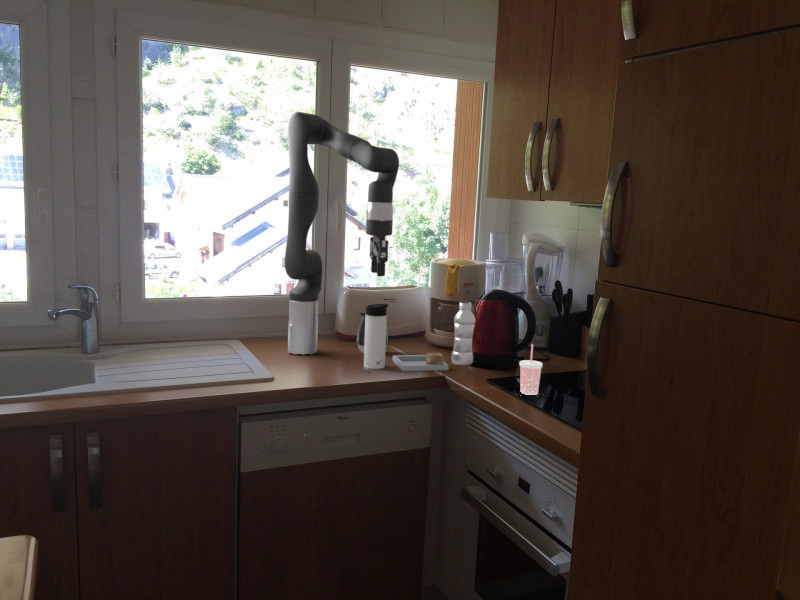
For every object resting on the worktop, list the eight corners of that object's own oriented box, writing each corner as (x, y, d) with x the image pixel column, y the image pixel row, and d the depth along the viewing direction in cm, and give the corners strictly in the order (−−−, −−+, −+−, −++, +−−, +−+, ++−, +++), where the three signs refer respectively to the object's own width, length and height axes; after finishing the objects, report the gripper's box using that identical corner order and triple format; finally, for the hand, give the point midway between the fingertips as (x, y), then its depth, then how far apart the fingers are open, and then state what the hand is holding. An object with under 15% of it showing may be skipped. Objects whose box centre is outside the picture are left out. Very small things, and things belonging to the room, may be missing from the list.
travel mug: (383, 373, 196) (385, 305, 193) (361, 371, 197) (363, 304, 194) (387, 368, 202) (390, 302, 199) (366, 366, 203) (368, 301, 200)
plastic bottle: (452, 362, 212) (455, 300, 209) (473, 364, 211) (477, 301, 208) (449, 367, 206) (453, 303, 203) (471, 369, 205) (475, 304, 202)
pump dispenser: (349, 352, 220) (350, 307, 218) (373, 349, 227) (375, 304, 225) (369, 359, 212) (370, 311, 210) (393, 355, 219) (395, 309, 217)
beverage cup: (537, 392, 183) (541, 342, 180) (542, 399, 177) (546, 347, 174) (515, 391, 182) (518, 341, 180) (519, 398, 176) (523, 346, 174)
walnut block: (429, 369, 199) (430, 356, 198) (426, 365, 203) (426, 352, 202) (442, 368, 200) (443, 355, 199) (438, 365, 204) (439, 352, 203)
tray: (402, 374, 196) (402, 366, 195) (392, 363, 208) (392, 355, 208) (448, 373, 199) (448, 365, 199) (435, 362, 211) (436, 354, 211)
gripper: (362, 217, 199) (360, 271, 201) (371, 219, 185) (369, 277, 188) (387, 217, 201) (385, 271, 203) (398, 219, 187) (395, 277, 190)
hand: (377, 274), depth 195 cm, fingers open, 8 cm apart
